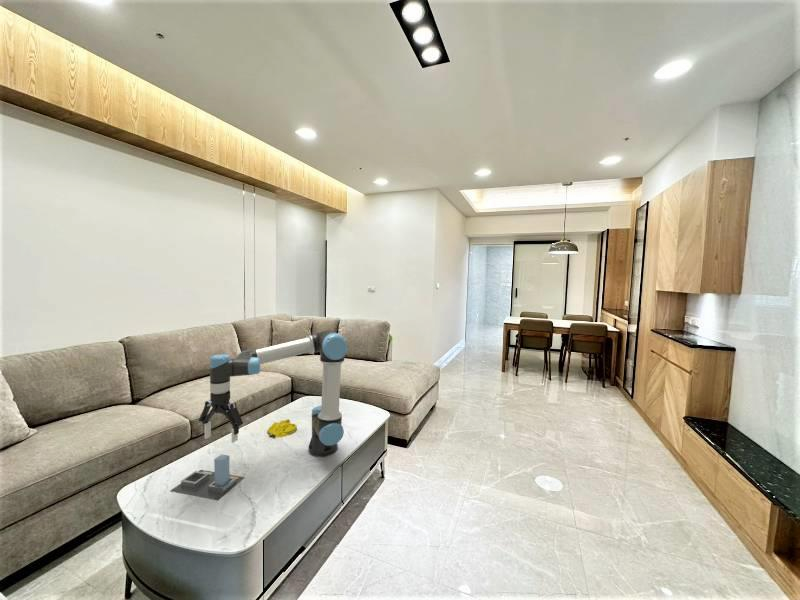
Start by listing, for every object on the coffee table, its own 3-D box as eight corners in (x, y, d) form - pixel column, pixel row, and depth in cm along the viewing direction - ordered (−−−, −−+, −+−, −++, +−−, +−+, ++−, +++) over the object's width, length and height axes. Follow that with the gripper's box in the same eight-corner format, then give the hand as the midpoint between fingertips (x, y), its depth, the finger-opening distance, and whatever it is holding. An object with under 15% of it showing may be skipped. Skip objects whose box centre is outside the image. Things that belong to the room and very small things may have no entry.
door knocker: (299, 432, 194) (299, 425, 194) (272, 440, 184) (272, 433, 184) (290, 423, 207) (290, 416, 207) (264, 429, 198) (263, 422, 197)
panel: (245, 479, 148) (245, 473, 148) (218, 502, 132) (217, 495, 132) (200, 471, 153) (200, 465, 153) (169, 493, 138) (169, 486, 137)
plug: (231, 482, 144) (231, 454, 143) (222, 490, 139) (222, 460, 138) (223, 481, 144) (223, 452, 144) (214, 488, 140) (214, 459, 139)
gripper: (251, 391, 141) (252, 438, 142) (203, 385, 146) (203, 432, 148) (239, 396, 134) (239, 447, 135) (188, 391, 139) (189, 439, 140)
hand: (221, 439), depth 141 cm, fingers open, 13 cm apart
